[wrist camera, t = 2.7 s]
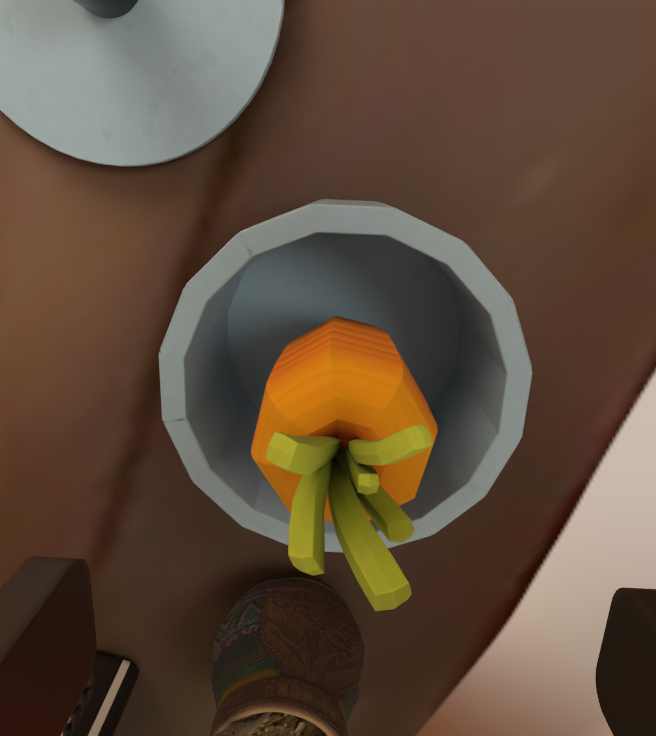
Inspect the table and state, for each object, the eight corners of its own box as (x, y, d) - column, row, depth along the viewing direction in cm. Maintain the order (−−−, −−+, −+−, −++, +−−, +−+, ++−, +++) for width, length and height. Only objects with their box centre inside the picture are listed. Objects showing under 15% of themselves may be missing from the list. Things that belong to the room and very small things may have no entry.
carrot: (277, 290, 24) (178, 445, 10) (394, 275, 23) (474, 410, 9) (295, 399, 25) (233, 674, 11) (405, 386, 25) (490, 652, 11)
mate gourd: (309, 690, 31) (294, 914, 21) (192, 622, 30) (122, 827, 20) (390, 604, 29) (414, 808, 20) (270, 528, 28) (232, 704, 18)
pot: (208, 193, 23) (149, 196, 16) (492, 206, 23) (558, 214, 16) (214, 450, 27) (168, 544, 20) (460, 462, 26) (502, 561, 19)
